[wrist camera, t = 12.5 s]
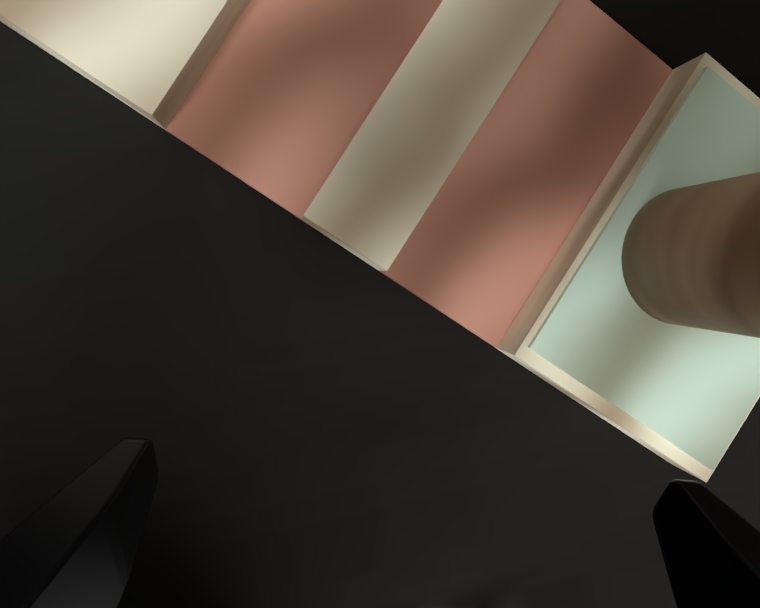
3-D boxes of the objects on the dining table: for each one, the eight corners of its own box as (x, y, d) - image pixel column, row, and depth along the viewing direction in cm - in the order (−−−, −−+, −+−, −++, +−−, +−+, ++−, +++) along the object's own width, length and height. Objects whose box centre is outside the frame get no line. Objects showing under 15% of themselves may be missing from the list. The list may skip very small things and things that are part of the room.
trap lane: (-102, -47, 17) (-162, -94, 14) (124, -380, 17) (99, -475, 15) (670, 463, 22) (710, 484, 20) (829, 207, 23) (885, 201, 20)
